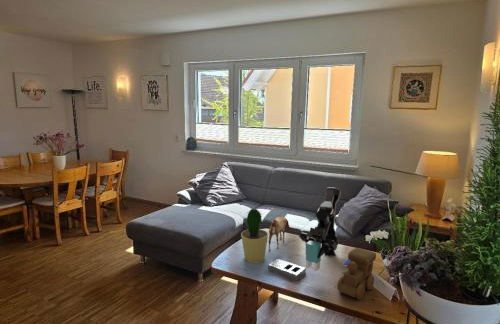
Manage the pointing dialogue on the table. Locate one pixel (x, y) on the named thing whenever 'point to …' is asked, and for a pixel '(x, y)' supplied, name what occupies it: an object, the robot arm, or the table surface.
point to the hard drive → (346, 262)
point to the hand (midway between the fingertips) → (312, 256)
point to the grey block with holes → (287, 269)
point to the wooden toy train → (357, 273)
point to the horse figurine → (278, 229)
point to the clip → (313, 254)
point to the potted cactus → (254, 238)
